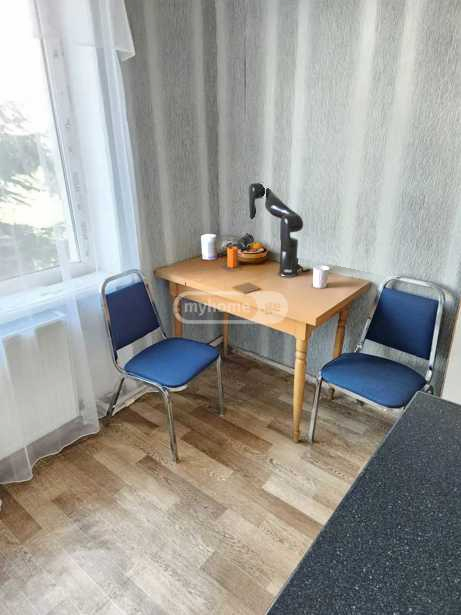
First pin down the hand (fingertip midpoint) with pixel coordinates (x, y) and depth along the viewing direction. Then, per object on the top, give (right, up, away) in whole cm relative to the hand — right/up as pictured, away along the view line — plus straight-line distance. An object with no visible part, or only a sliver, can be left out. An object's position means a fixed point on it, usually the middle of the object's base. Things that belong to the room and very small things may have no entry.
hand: (234, 249), depth 231 cm
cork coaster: (+6, -24, -28) cm, 37 cm away
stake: (-1, -10, +2) cm, 10 cm away
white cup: (+44, -23, -26) cm, 56 cm away
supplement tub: (-15, -3, +18) cm, 24 cm away
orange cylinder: (-1, -9, +1) cm, 9 cm away
